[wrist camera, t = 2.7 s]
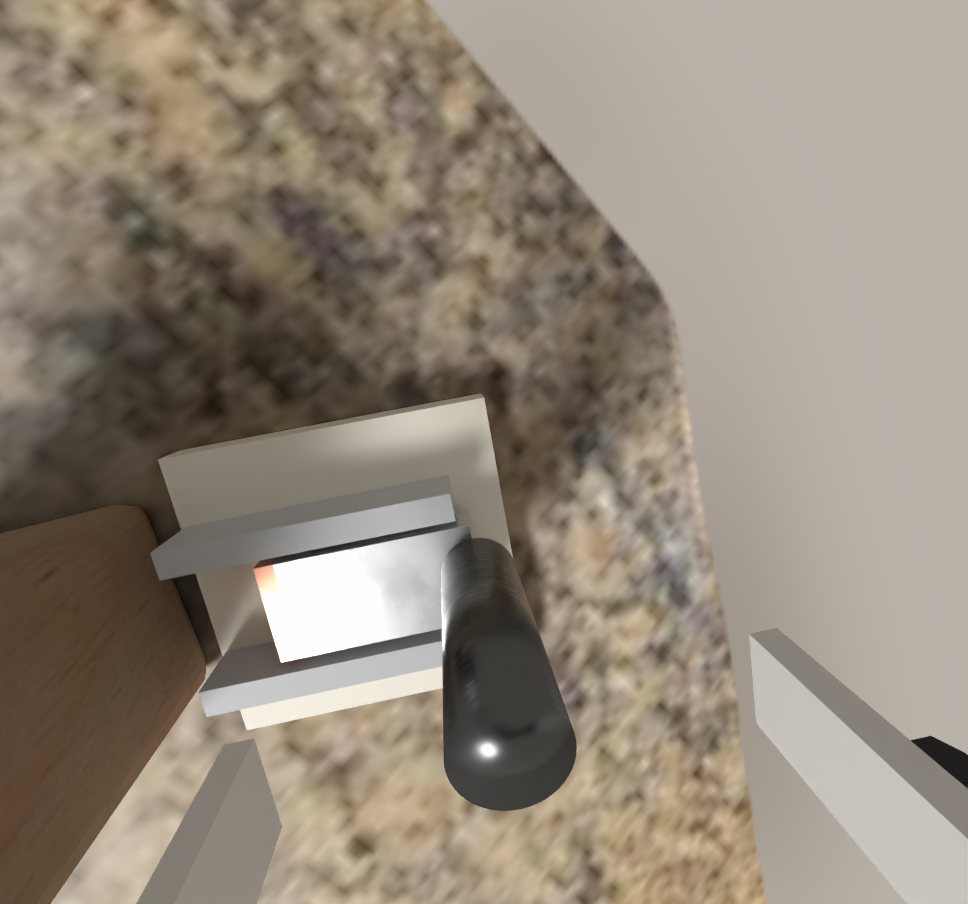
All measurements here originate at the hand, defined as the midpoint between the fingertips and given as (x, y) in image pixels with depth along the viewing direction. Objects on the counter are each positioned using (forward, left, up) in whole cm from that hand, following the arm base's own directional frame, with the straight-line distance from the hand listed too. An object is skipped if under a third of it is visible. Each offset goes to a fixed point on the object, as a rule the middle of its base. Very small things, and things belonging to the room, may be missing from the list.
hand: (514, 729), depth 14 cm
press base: (0, -6, -14) cm, 15 cm away
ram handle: (0, -4, -11) cm, 12 cm away
